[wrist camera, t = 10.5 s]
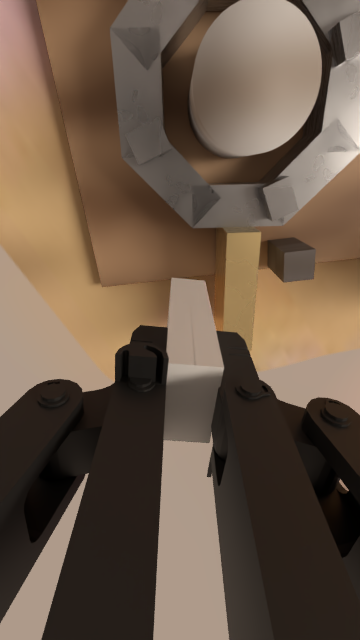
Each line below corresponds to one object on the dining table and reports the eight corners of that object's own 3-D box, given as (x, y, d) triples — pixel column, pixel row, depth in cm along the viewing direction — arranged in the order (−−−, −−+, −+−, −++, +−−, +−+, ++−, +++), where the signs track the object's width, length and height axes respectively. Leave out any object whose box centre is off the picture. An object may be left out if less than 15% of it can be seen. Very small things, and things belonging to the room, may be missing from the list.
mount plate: (15, -112, 17) (-82, -285, 10) (440, -177, 16) (615, -406, 10) (104, 283, 26) (82, 319, 20) (373, 252, 25) (439, 280, 19)
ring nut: (110, -50, 17) (87, -130, 12) (372, -55, 17) (445, -138, 12) (142, 322, 26) (135, 354, 22) (309, 317, 26) (337, 347, 22)
